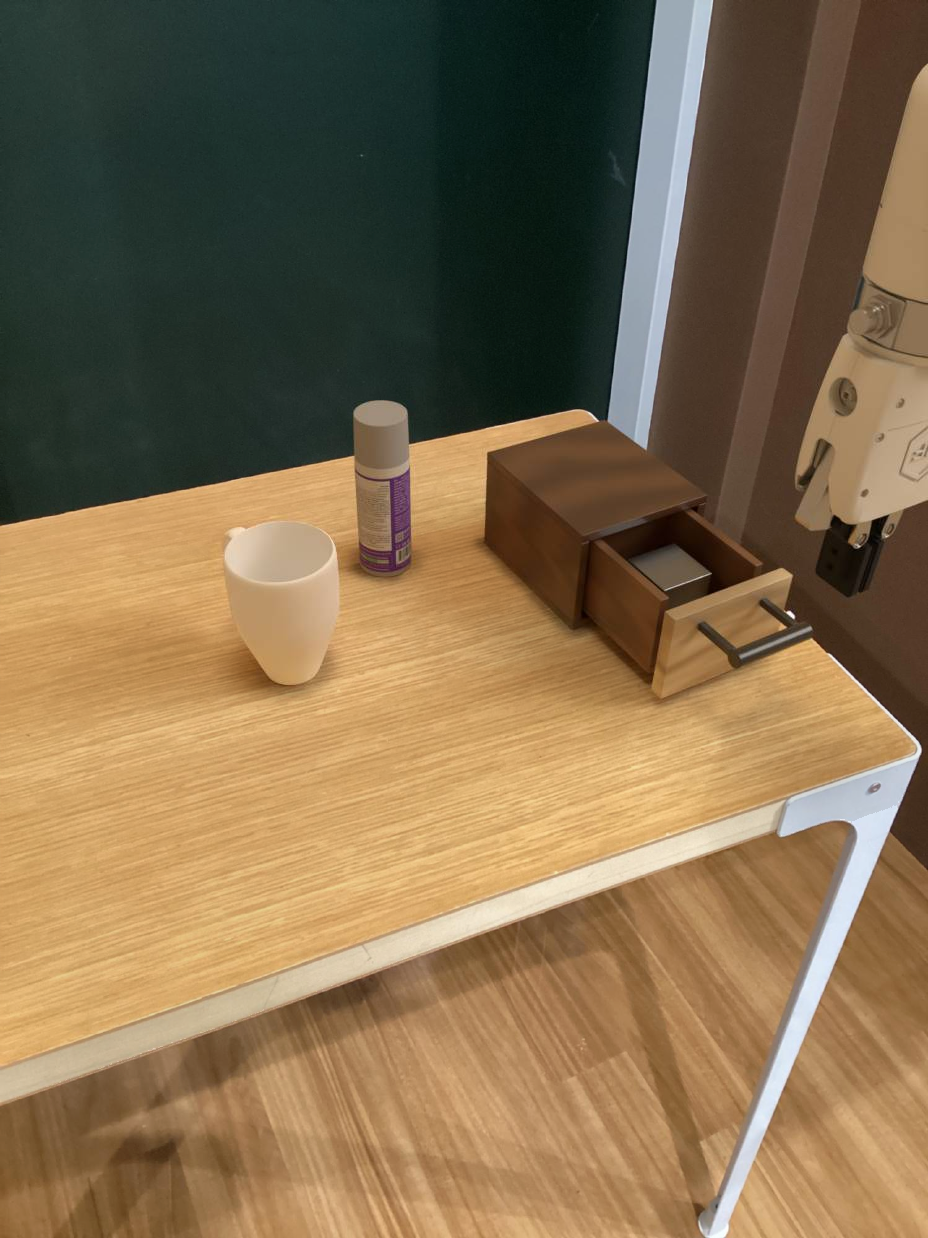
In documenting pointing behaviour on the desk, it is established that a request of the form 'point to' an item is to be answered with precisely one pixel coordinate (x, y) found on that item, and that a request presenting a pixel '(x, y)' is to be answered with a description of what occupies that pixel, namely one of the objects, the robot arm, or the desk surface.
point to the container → (382, 487)
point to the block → (674, 574)
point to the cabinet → (574, 505)
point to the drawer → (688, 604)
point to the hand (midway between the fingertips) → (840, 582)
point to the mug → (283, 595)
